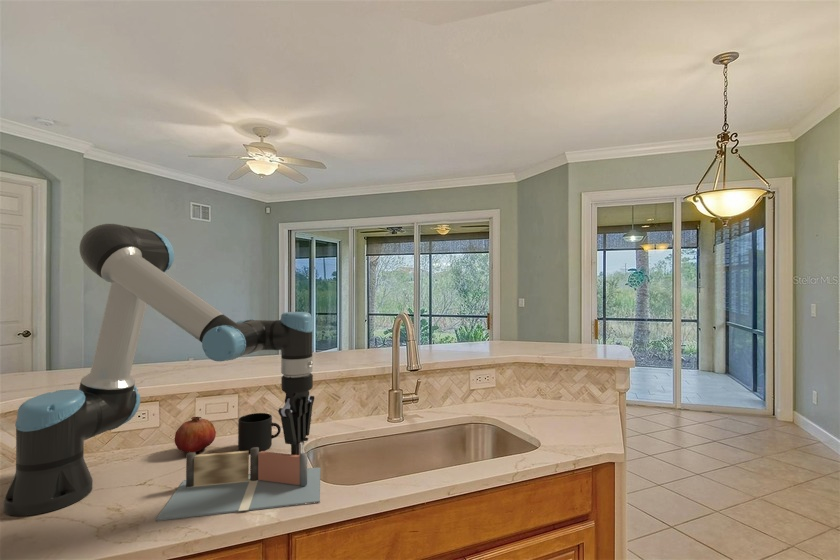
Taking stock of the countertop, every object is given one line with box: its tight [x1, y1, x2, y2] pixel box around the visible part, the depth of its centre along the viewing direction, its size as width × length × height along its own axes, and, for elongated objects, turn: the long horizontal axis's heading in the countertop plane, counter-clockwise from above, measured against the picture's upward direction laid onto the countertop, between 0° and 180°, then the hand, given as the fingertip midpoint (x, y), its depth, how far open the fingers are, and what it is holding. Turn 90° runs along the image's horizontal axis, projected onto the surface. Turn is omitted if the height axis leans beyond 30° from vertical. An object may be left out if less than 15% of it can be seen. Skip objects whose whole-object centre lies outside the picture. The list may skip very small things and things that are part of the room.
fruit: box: [174, 416, 217, 453], centre depth 124 cm, size 11×10×10 cm
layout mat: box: [155, 466, 321, 522], centre depth 99 cm, size 33×18×1 cm, turn 103°
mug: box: [237, 412, 282, 454], centre depth 127 cm, size 9×12×9 cm
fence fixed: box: [185, 447, 259, 487], centre depth 103 cm, size 16×2×8 cm, turn 103°
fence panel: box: [258, 450, 308, 486], centre depth 103 cm, size 13×2×7 cm, turn 76°
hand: (297, 468), depth 105 cm, fingers closed
